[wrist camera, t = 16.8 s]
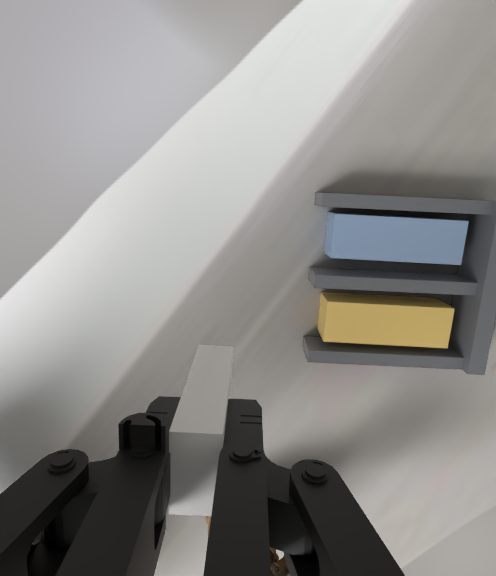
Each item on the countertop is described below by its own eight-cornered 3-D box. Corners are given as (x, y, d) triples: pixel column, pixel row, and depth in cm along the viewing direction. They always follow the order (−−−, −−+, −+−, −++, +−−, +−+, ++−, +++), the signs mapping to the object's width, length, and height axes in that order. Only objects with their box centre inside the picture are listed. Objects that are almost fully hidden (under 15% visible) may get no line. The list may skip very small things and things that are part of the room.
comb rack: (302, 346, 43) (309, 366, 39) (315, 192, 40) (324, 192, 35) (458, 354, 43) (484, 374, 39) (485, 200, 40) (518, 202, 35)
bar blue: (323, 251, 41) (330, 258, 37) (327, 211, 40) (335, 213, 37) (441, 258, 41) (461, 265, 37) (448, 218, 40) (468, 221, 37)
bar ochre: (317, 327, 43) (323, 341, 39) (320, 291, 42) (327, 301, 38) (430, 334, 43) (447, 348, 39) (436, 297, 42) (454, 308, 38)
